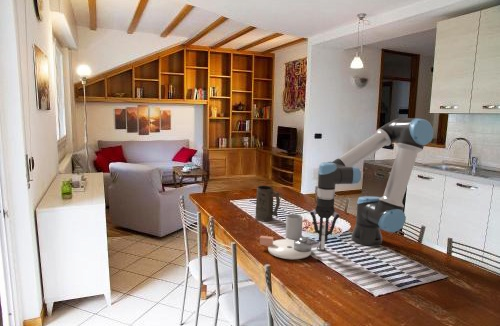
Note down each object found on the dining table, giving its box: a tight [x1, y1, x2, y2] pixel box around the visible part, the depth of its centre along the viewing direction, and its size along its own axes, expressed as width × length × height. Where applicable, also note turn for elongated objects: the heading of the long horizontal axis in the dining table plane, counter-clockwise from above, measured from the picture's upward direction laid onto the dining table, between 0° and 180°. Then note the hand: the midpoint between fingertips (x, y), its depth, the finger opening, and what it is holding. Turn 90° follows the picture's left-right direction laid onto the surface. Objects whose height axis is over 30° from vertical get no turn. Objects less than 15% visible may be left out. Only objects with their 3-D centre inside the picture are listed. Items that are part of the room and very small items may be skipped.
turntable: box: [259, 235, 312, 260], centre depth 162 cm, size 24×20×5 cm
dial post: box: [316, 223, 326, 252], centre depth 166 cm, size 4×4×13 cm
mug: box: [284, 213, 304, 240], centre depth 184 cm, size 12×8×11 cm
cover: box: [293, 236, 313, 252], centre depth 160 cm, size 8×8×5 cm
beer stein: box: [255, 185, 281, 222], centre depth 210 cm, size 15×11×20 cm
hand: (322, 248), depth 158 cm, fingers closed
